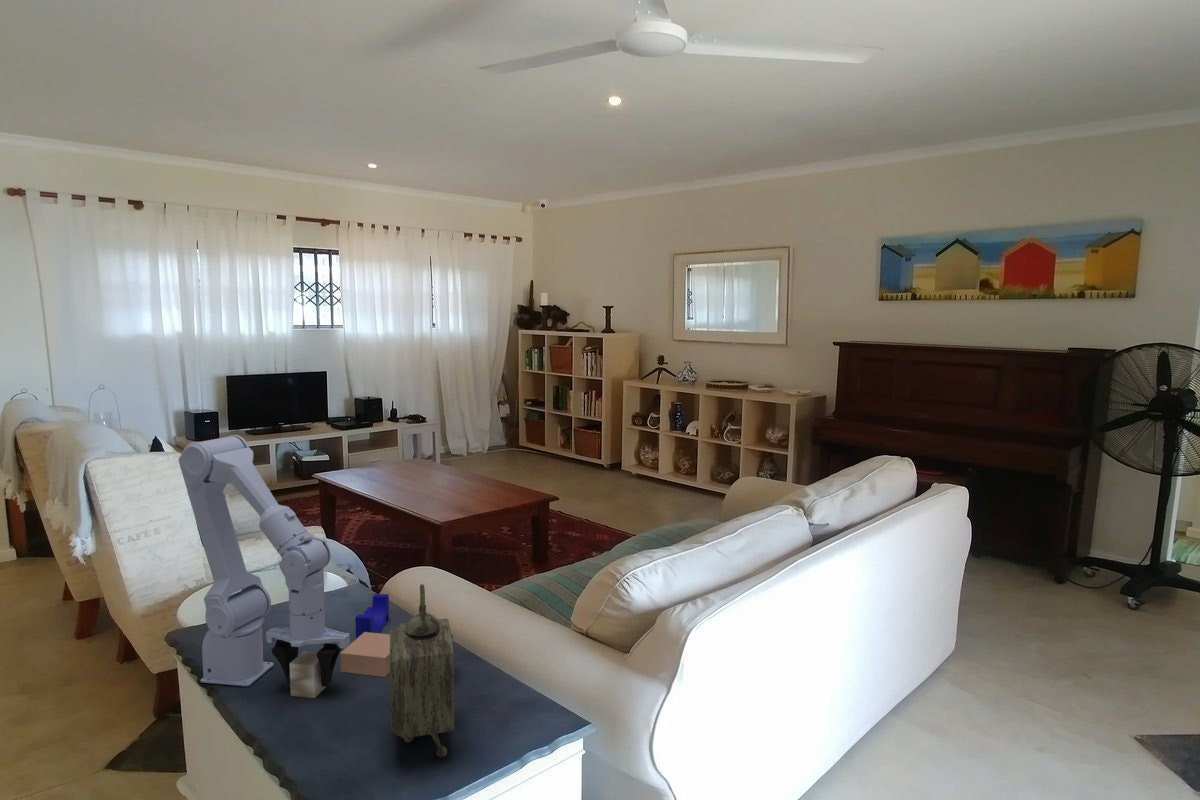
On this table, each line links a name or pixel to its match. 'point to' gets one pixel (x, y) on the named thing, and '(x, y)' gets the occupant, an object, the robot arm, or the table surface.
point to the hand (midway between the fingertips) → (309, 682)
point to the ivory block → (305, 675)
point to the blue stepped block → (374, 616)
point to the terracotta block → (367, 655)
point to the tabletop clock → (422, 677)
